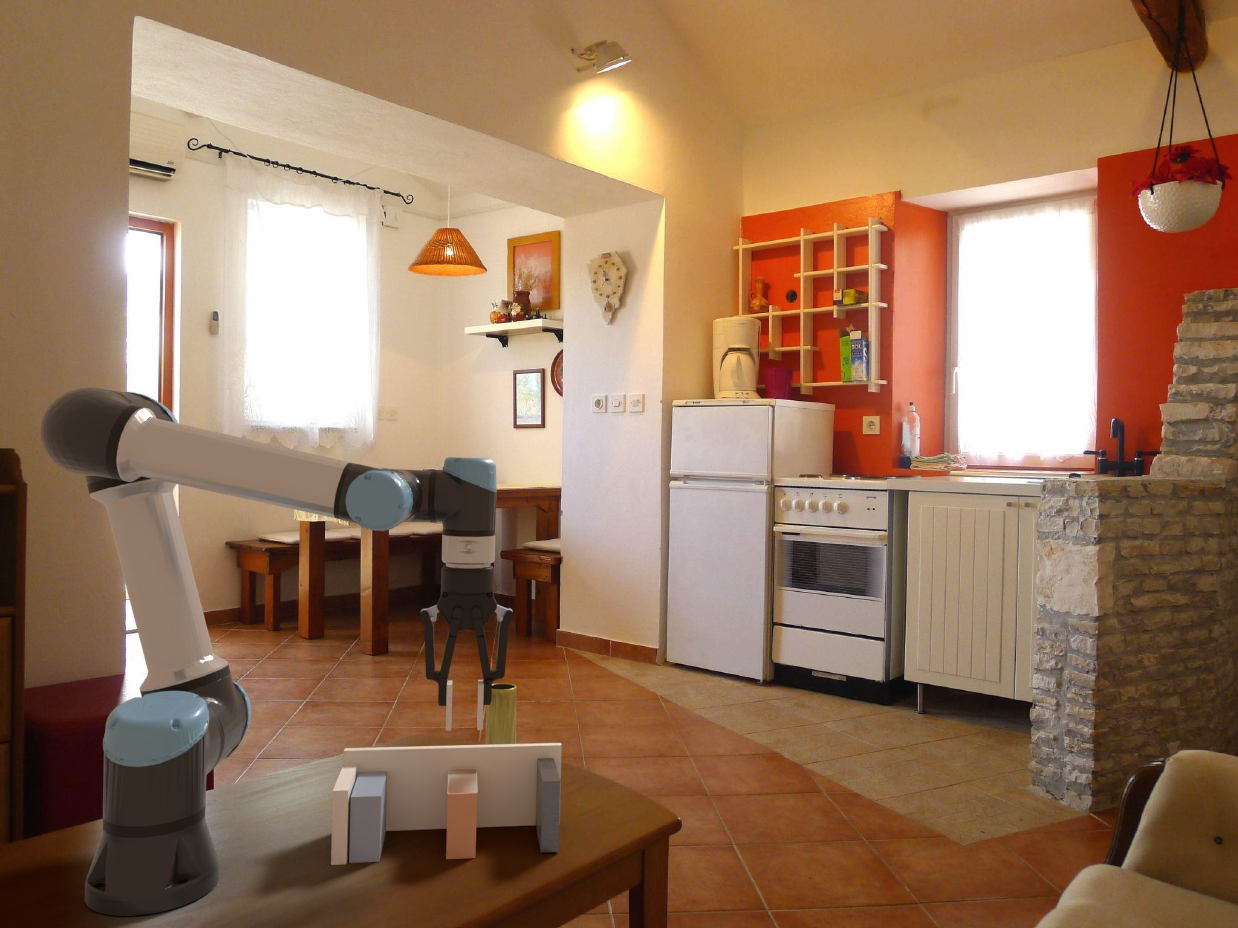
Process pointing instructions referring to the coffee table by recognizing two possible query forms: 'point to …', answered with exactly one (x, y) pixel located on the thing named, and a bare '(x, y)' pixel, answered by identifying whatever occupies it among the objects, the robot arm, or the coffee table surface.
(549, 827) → the bookend
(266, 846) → the coffee table surface
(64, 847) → the coffee table surface
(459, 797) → the rust book
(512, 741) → the vase
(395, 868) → the coffee table surface
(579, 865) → the coffee table surface
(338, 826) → the white upright backboard
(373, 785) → the blue book
